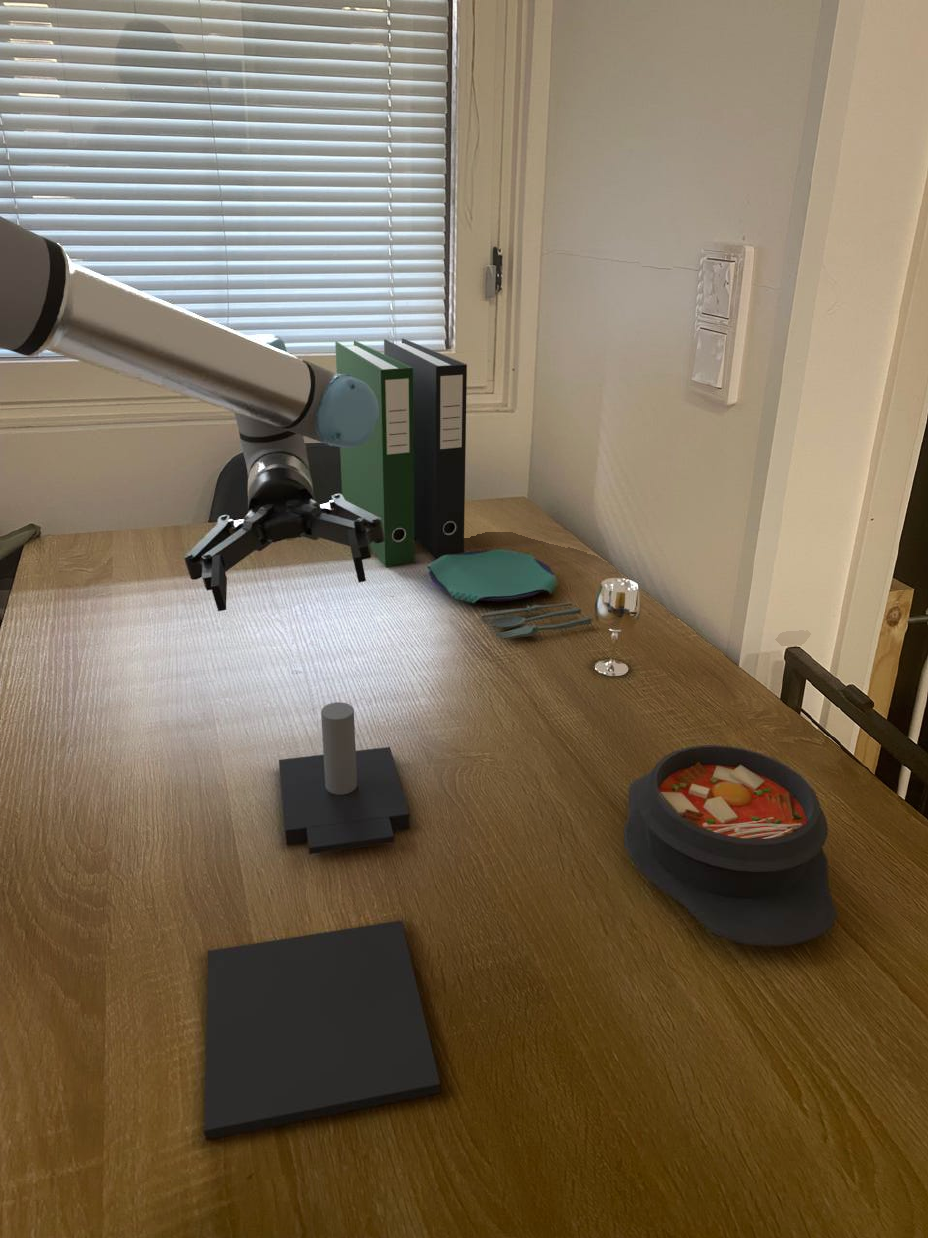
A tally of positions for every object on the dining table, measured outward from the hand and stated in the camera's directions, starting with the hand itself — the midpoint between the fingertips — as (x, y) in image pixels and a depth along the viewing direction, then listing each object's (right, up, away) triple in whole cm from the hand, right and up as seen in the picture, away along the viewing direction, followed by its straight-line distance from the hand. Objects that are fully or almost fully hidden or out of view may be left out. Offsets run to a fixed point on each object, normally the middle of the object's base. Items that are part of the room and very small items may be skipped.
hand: (289, 584), depth 87 cm
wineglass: (+36, -10, +34) cm, 50 cm away
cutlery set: (+23, 0, +54) cm, 58 cm away
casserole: (+41, -27, 0) cm, 49 cm away
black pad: (+5, -34, -18) cm, 39 cm away
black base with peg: (+4, -23, +6) cm, 24 cm away
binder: (+5, +12, +78) cm, 79 cm away
